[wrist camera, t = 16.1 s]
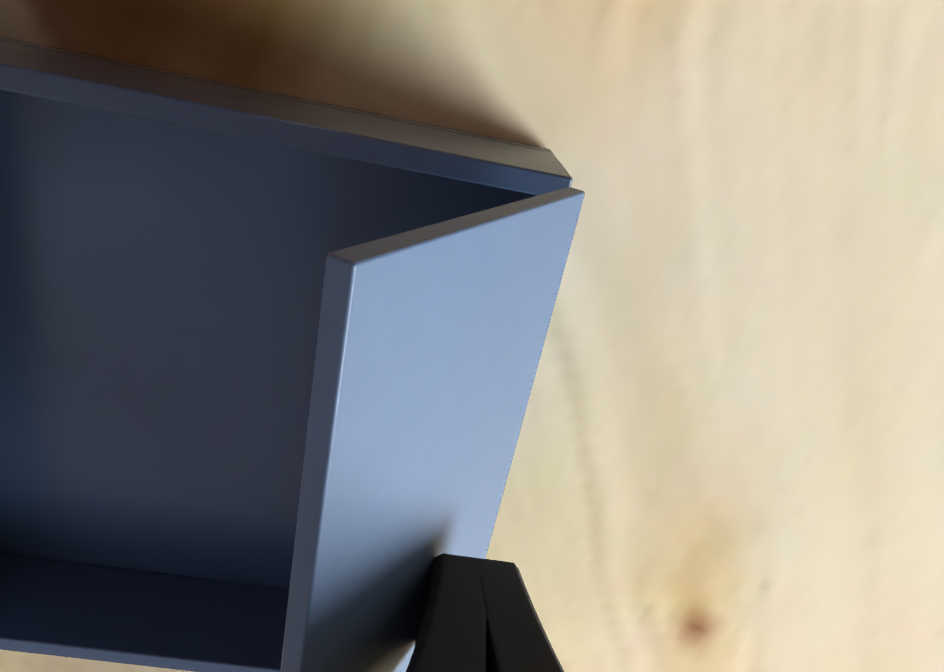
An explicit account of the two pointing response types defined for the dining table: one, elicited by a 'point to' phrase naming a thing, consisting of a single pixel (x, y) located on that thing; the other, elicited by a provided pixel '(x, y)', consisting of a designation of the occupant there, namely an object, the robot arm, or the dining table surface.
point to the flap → (415, 420)
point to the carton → (182, 339)
